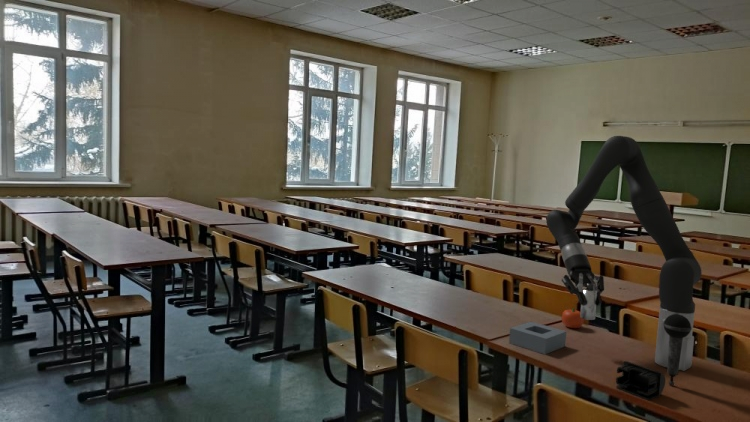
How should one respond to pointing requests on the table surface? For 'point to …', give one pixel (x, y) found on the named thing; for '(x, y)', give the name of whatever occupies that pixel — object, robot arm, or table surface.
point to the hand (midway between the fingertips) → (592, 304)
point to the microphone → (675, 341)
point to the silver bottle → (589, 303)
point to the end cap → (640, 381)
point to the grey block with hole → (537, 337)
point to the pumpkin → (572, 318)
